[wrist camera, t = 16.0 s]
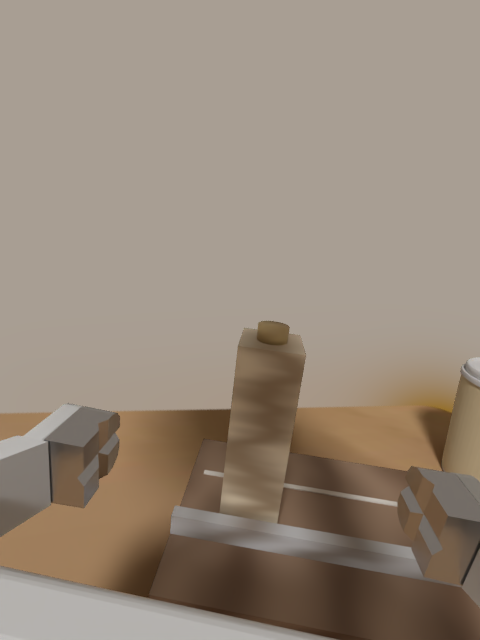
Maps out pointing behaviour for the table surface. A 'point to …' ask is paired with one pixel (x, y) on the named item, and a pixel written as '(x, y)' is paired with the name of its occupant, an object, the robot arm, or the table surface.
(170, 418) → the table surface
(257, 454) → the beige tall block
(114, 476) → the table surface
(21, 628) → the robot arm
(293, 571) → the board
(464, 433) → the coffee cup
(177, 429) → the table surface
